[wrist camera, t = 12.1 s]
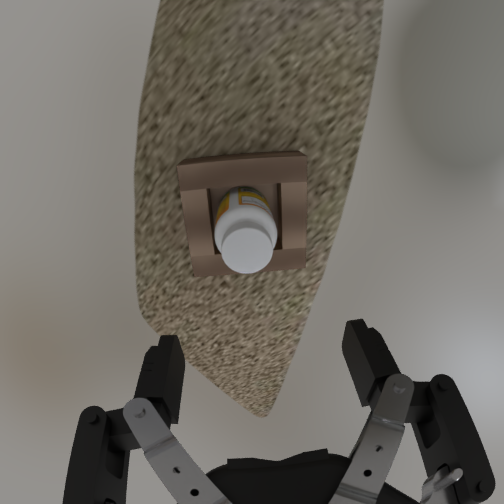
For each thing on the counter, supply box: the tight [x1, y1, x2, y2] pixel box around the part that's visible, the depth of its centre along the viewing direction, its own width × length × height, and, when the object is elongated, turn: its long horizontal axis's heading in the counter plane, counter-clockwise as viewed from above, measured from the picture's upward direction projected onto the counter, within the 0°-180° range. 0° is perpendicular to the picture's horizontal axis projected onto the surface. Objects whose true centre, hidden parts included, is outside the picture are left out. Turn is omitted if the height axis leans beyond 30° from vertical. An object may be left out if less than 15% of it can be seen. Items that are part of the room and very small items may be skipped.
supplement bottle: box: [215, 186, 277, 274], centre depth 26 cm, size 5×5×10 cm
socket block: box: [177, 151, 307, 277], centre depth 29 cm, size 12×12×4 cm
